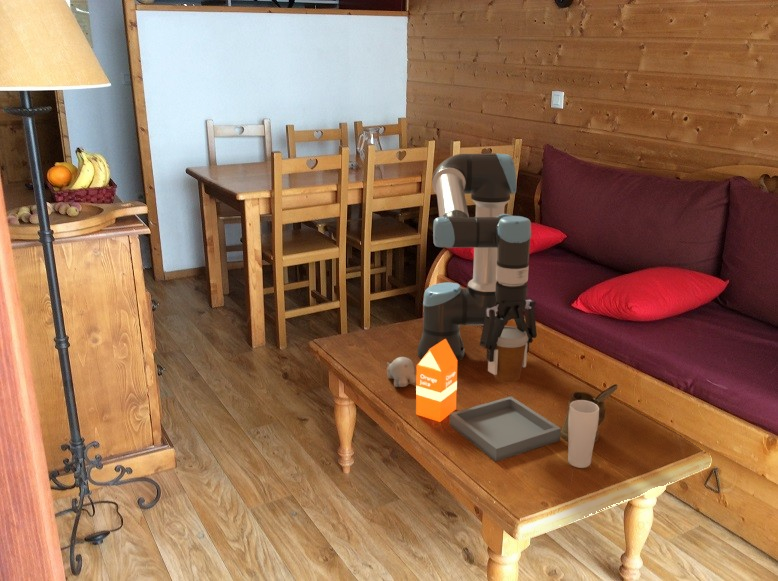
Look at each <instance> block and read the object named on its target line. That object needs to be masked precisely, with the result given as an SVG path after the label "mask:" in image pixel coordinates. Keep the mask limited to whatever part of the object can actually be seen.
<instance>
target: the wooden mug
mask: <svg viewBox="0 0 778 581" xmlns="http://www.w3.org/2000/svg"><path fill="white" fill-rule="evenodd" d="M616 390H618V384H612V385H610V386H609V387H608V388H606V389H604V390H602V392H601V393H599V394H598V395H597V396H595V395H593V394H592V393H590V392H586V391H575V392H572V393H571V394H570V398H569V400H568V402H567V411H566V413H565V415H566V416H565V419H564V423H563V426H562V428H561V435H560V438H561V437H562V439H563V440H564V441H566V442H568V415H569V407H570V403H571V402H573V401H576V400H586V401H590V402H593V403H595V404H596V405H598V407H599V420H598V427H599V426H601V424H602V423H603V422H604V420H605V419H606V418H605V417H606V414H607V409H606V404H605V402H604V401H605V400H607V398H609V397H610V396H611V395H612V394H614V392H616ZM599 433H600V432H599V430H598V429H597V432H596V437H595V442H594V443H596V442H597V441H598V440H599Z"/></svg>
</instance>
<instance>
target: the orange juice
mask: <svg viewBox="0 0 778 581" xmlns="http://www.w3.org/2000/svg"><path fill="white" fill-rule="evenodd" d="M416 376H417V377H416V383H415V384H416V385H415V387H416V388H415V391H416V393H415V394H416V395H415V396H416V397H415V398H416V400H415V415H417V416H420V417H423V418H426V419H430V420H432V421H435V422H439V423H441V422H442V421H443V420H444V419H446V418H447V417H448V416H450V413H453V412H455V410H457V391H458V361H457V359H456V357H455V355H454V353H453V351H452V350H451V348H450V346H449V344H448V342H447V340H446V339H444V340H443V341H441V342H440V343H438V344H436V345H435V346H433V347H432V348H430V349H429V351H428V352H427V353H426V355H425V356H424V357H423V358H422V359H420V361H419V362H418V363H417V364H416Z"/></svg>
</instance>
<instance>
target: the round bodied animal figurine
mask: <svg viewBox="0 0 778 581" xmlns="http://www.w3.org/2000/svg"><path fill="white" fill-rule="evenodd" d="M386 366H387V367H386V370H387V372H386V376H387V378H388V379H390V380H392V379H393V387H395V388H404V387H405V388H406V387H407V386H408V385H410V384H411V385H413V384H416V377H417V374H416V373H415V372H416V371H415V370H416V369H415V368H416V367H415V364H414V362H413V361H412V360H411V359H410V358H409V357H405V356H399V357H396V358H395V359H393V361H392V362H391V363H390V362H388V361H387V362H386Z"/></svg>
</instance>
